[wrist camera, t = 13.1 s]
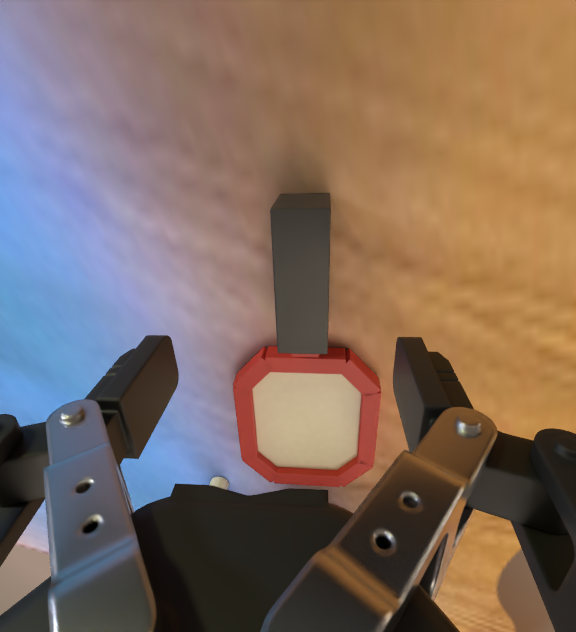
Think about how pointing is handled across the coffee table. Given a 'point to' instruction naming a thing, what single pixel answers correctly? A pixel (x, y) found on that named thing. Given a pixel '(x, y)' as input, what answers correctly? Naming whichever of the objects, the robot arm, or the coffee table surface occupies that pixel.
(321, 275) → the octagonal paddle
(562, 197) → the coffee table surface
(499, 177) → the coffee table surface
